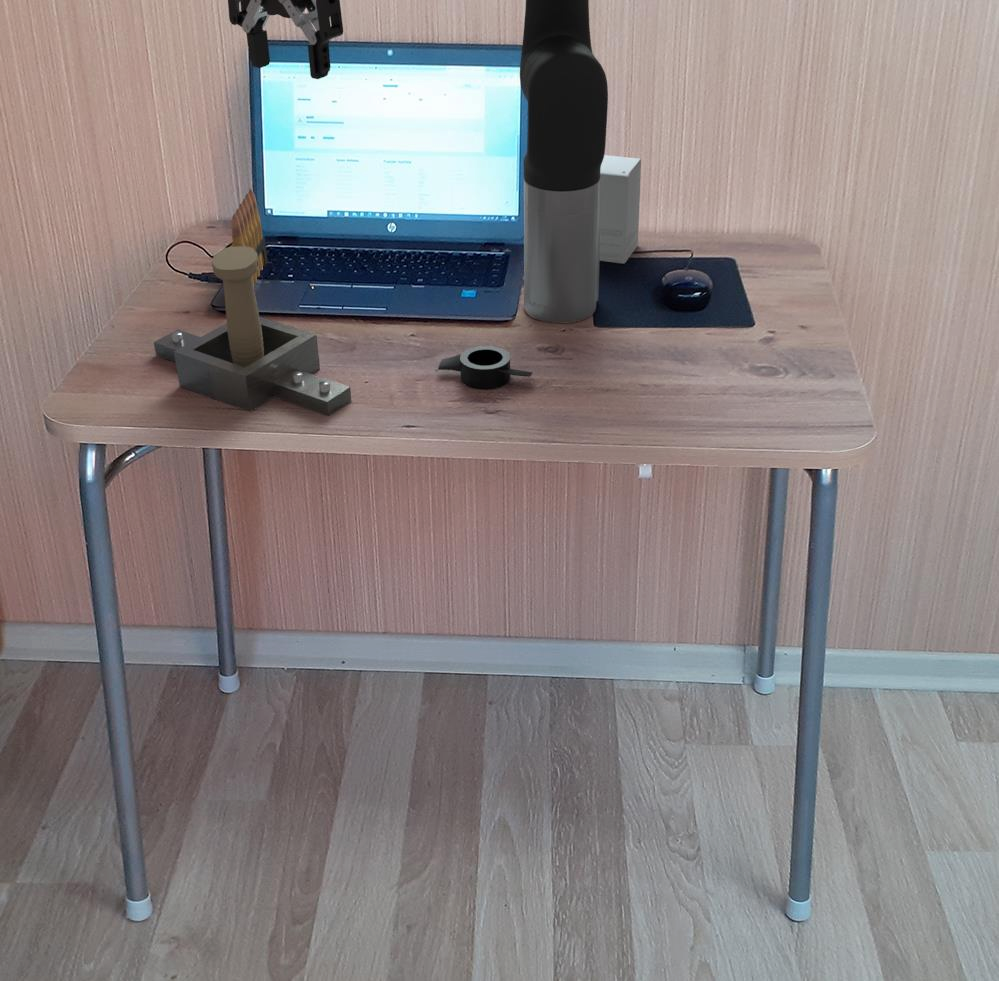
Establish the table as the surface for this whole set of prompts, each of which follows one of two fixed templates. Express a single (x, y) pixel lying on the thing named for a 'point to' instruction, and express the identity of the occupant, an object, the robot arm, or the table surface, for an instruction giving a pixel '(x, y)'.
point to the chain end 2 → (280, 376)
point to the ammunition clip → (249, 230)
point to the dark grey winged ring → (483, 367)
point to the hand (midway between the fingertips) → (290, 71)
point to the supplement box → (619, 207)
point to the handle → (240, 302)
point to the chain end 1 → (203, 354)
